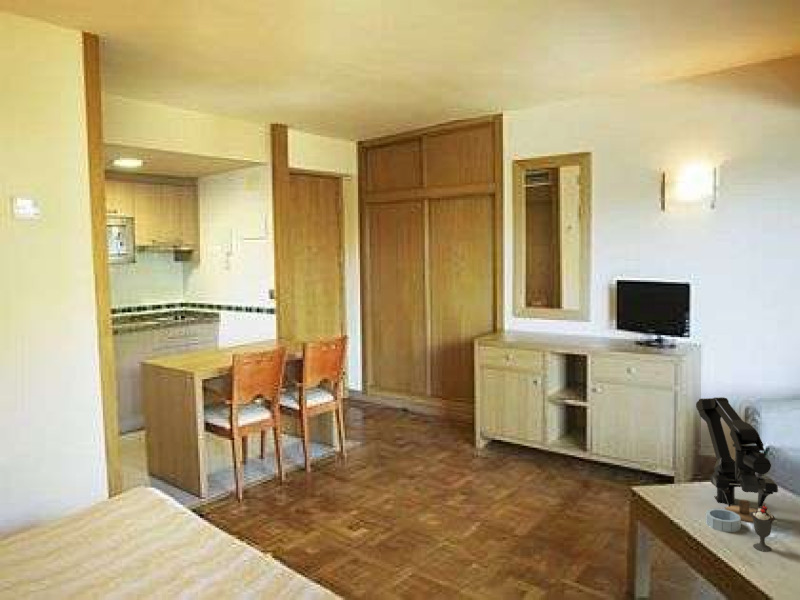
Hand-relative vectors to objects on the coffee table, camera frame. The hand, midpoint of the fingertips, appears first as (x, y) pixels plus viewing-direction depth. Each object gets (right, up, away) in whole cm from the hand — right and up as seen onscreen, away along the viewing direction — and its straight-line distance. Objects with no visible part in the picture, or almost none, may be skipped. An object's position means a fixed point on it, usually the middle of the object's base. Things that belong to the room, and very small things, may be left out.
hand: (744, 507), depth 201 cm
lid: (0, -3, 0) cm, 3 cm away
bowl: (-11, -4, -7) cm, 14 cm away
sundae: (-7, -5, -22) cm, 23 cm away
